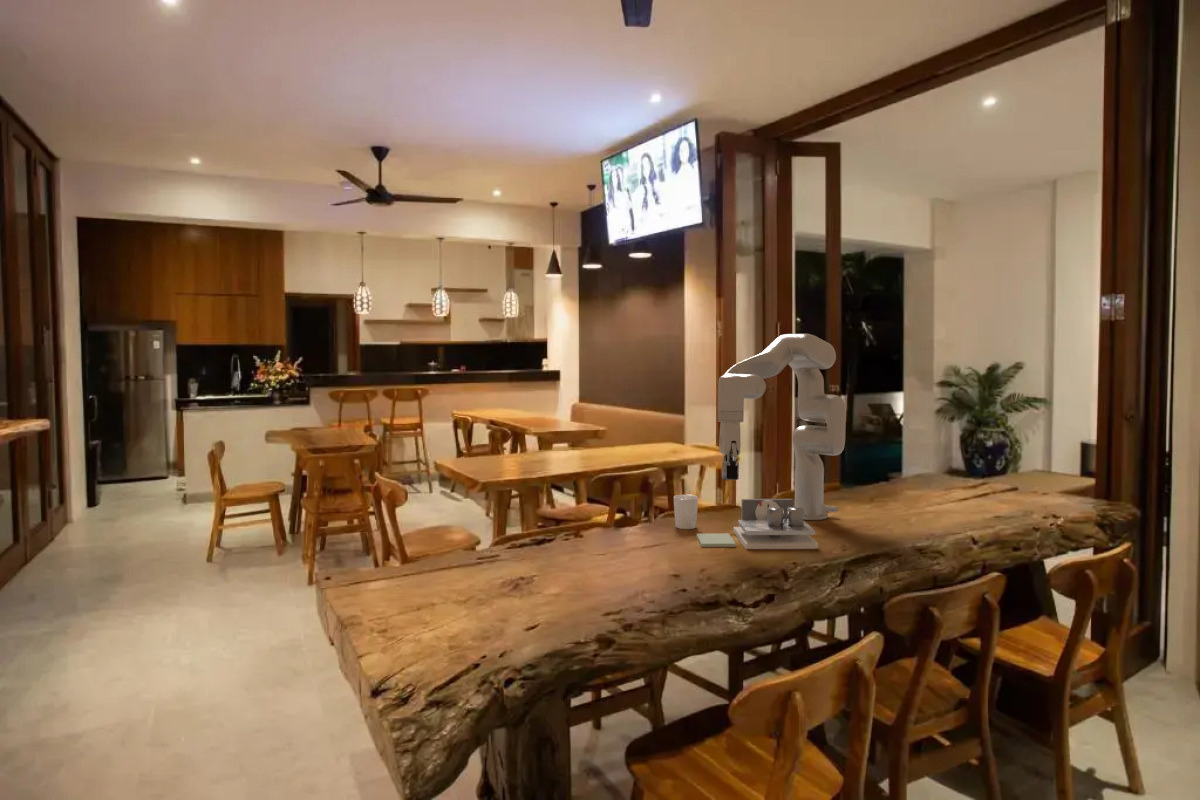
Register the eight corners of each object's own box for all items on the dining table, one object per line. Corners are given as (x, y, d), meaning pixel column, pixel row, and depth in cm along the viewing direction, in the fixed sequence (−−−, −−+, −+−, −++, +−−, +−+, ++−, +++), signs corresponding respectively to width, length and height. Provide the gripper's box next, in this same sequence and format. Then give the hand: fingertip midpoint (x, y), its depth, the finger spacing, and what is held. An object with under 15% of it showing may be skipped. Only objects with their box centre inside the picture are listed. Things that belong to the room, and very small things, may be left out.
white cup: (669, 525, 248) (669, 495, 248) (690, 523, 251) (690, 493, 251) (680, 530, 241) (680, 500, 240) (702, 528, 244) (702, 498, 243)
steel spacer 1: (781, 523, 229) (782, 507, 229) (785, 527, 224) (785, 510, 224) (765, 523, 229) (765, 507, 229) (768, 527, 224) (768, 510, 224)
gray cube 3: (737, 477, 228) (737, 460, 228) (740, 480, 223) (740, 463, 223) (720, 477, 228) (720, 461, 228) (723, 480, 223) (723, 463, 223)
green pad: (728, 536, 233) (728, 533, 233) (735, 546, 221) (735, 543, 221) (696, 536, 233) (696, 533, 233) (701, 547, 221) (701, 543, 221)
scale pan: (802, 523, 234) (802, 519, 234) (815, 534, 220) (815, 530, 220) (738, 523, 234) (738, 520, 234) (746, 535, 220) (746, 530, 220)
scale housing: (799, 531, 239) (799, 498, 239) (817, 548, 218) (818, 513, 218) (733, 531, 240) (733, 498, 239) (745, 549, 219) (745, 513, 218)
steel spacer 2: (801, 523, 229) (801, 506, 229) (805, 527, 224) (806, 510, 224) (785, 523, 229) (785, 507, 229) (789, 527, 224) (789, 510, 224)
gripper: (713, 414, 233) (713, 472, 234) (723, 419, 216) (722, 482, 217) (737, 414, 233) (737, 472, 234) (749, 419, 216) (748, 482, 217)
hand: (730, 476), depth 226 cm, fingers closed on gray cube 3, 5 cm apart
